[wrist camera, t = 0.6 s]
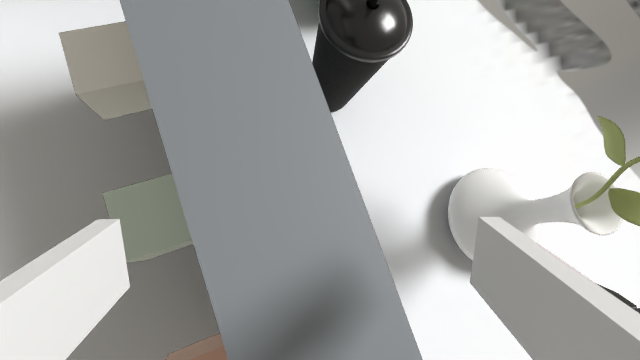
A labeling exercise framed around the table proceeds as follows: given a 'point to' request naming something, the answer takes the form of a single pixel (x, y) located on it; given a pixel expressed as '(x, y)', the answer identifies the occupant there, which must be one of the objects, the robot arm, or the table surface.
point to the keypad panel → (266, 184)
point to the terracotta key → (202, 350)
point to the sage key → (149, 218)
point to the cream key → (106, 70)
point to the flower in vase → (545, 199)
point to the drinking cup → (357, 43)
